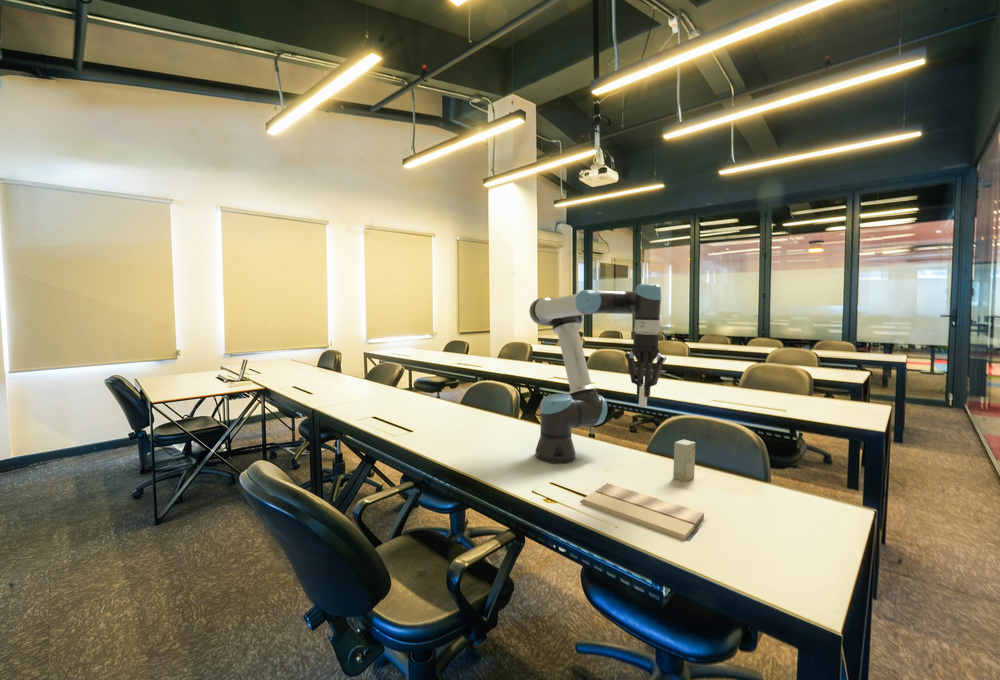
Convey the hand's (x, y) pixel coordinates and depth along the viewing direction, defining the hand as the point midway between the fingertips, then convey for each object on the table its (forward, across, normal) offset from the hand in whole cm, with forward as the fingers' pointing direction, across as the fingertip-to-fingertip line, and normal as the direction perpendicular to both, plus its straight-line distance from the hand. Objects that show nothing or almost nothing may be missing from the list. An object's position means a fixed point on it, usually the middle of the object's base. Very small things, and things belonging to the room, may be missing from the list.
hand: (642, 406), depth 135 cm
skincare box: (+25, +10, +13) cm, 30 cm away
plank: (+23, +10, -18) cm, 31 cm away
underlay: (+25, +10, -21) cm, 34 cm away
